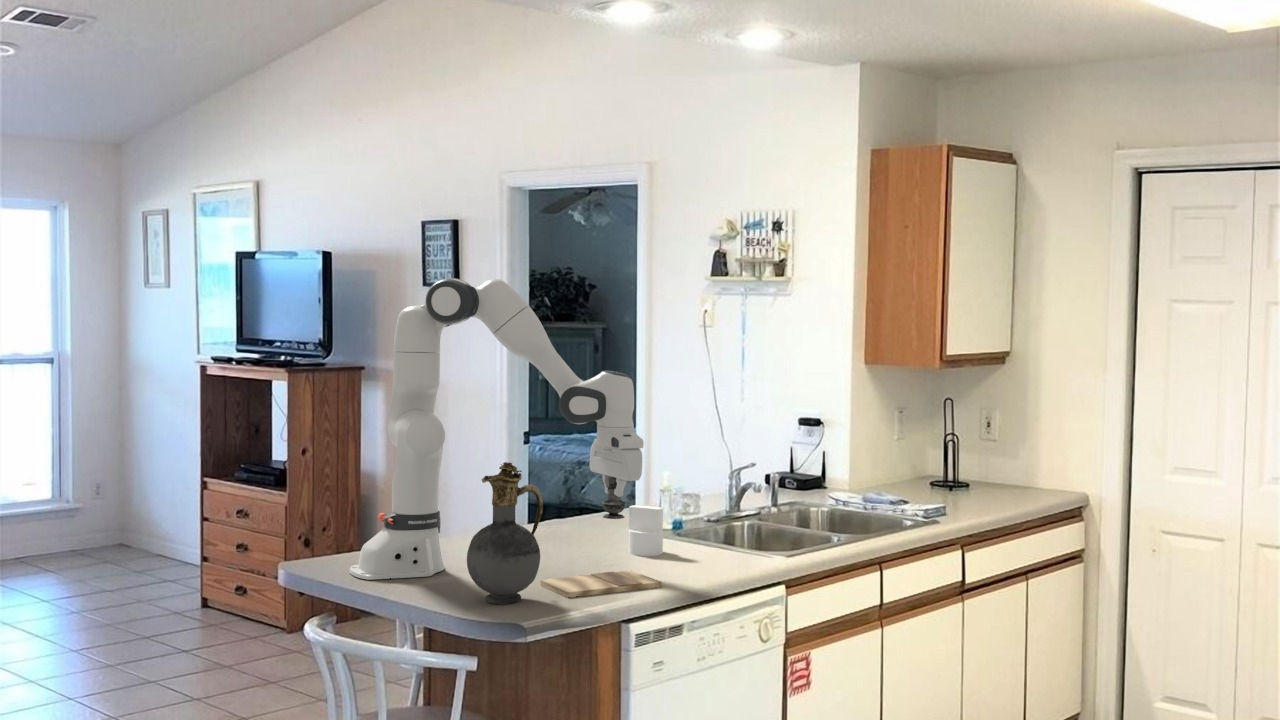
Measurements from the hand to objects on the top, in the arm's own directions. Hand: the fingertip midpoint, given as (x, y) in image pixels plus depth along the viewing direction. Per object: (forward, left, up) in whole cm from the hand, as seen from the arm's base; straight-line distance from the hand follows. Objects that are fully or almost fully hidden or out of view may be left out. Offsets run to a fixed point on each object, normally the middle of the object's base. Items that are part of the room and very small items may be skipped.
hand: (614, 494), depth 300 cm
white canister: (+19, +17, -19) cm, 32 cm away
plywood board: (-10, -13, -19) cm, 25 cm away
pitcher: (-34, -15, -19) cm, 42 cm away
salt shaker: (0, 0, -6) cm, 6 cm away
